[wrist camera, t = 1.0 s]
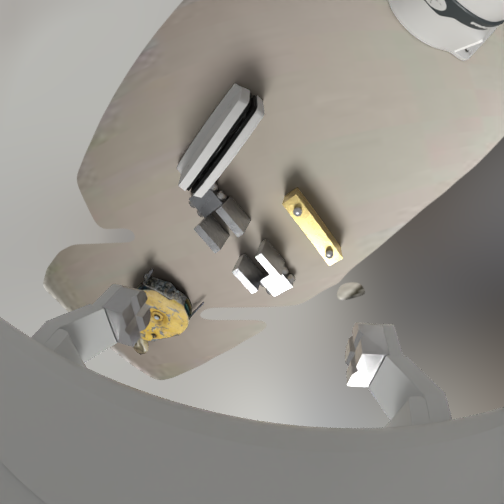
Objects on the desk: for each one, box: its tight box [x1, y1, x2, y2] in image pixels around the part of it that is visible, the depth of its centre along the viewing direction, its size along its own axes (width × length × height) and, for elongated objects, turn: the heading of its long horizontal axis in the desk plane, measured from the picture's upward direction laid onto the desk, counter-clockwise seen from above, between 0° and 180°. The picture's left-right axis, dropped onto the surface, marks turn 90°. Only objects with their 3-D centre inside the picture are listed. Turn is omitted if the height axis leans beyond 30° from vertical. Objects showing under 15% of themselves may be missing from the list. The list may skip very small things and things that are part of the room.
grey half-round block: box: [177, 83, 264, 198], centre depth 35 cm, size 17×5×10 cm, turn 143°
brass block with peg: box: [282, 188, 343, 266], centre depth 40 cm, size 2×12×5 cm, turn 40°
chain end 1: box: [189, 182, 251, 253], centre depth 42 cm, size 6×9×5 cm, turn 40°
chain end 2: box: [232, 239, 295, 296], centre depth 45 cm, size 6×9×5 cm, turn 40°
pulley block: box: [133, 268, 204, 355], centre depth 58 cm, size 14×6×30 cm
